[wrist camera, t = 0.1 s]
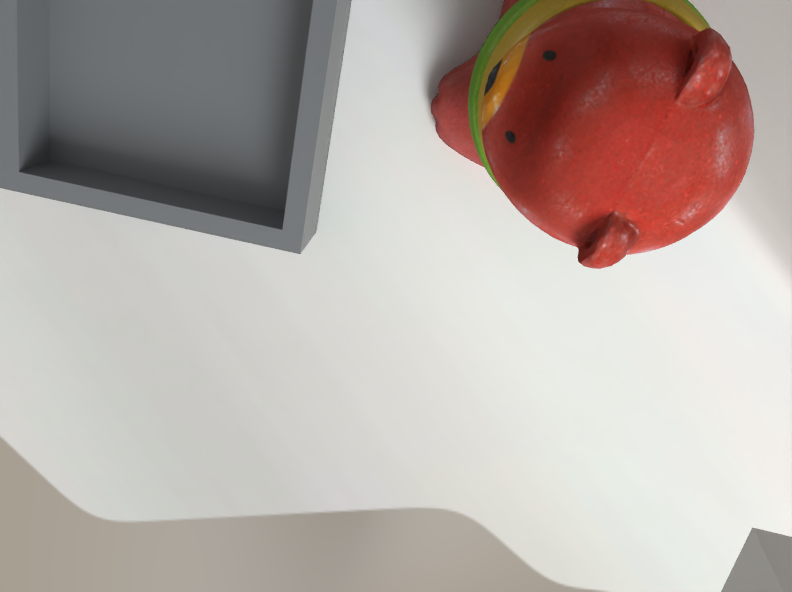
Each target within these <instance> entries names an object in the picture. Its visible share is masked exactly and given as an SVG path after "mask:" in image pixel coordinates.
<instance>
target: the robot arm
mask: <svg viewBox="0 0 792 592" xmlns="http://www.w3.org/2000/svg"><path fill="white" fill-rule="evenodd" d="M721 592H792V537H789V536H785V535H781V534H777V533H773V532H768V531H764V530H760V529H756V528H752V530H751V532H750V534H749V536H748V538H747V540H746V542H745V544H744V546H743V548H742V550H741V552H740V554H739V556H738V558H737V560H736V562H735V564H734V566H733V569H732V571H731V573H730V575H729V577H728V579H727V581H726V583H725V585H724V587H723V589H722V591H721Z"/></svg>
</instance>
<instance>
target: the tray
mask: <svg viewBox="0 0 792 592" xmlns="http://www.w3.org/2000/svg"><path fill="white" fill-rule="evenodd" d="M350 7H351V0H0V188H3V189H8V190H12V191H17V192H21V193H26V194H30V195H35V196H40V197H44V198H49V199H53V200H58V201H62V202H67V203H71V204H76V205H80V206H85V207H89V208H94V209H98V210H103V211H107V212H112V213H116V214H121V215H126V216H130V217H135V218H139V219H144V220H148V221H153V222H157V223H162V224H166V225H171V226H175V227H180V228H184V229H189V230H193V231H198V232H203V233H207V234H212V235H216V236H221V237H225V238H230V239H234V240H239V241H243V242H248V243H252V244H257V245H261V246H266V247H270V248H275V249H280V250H284V251H289V252H293V253H298V254H301V252H302V251H303V249H304V248H305V247H306V245H307V244H308V243H309V241H310V240H311V238H312V237H313V236H314V234H315V233H316V229H317V223H318V216H319V210H320V203H321V197H322V190H323V184H324V177H325V170H326V164H327V157H328V151H329V144H330V138H331V131H332V125H333V118H334V112H335V105H336V98H337V92H338V85H339V79H340V72H341V66H342V59H343V53H344V46H345V40H346V33H347V27H348V20H349V13H350Z"/></svg>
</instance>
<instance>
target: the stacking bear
mask: <svg viewBox="0 0 792 592" xmlns="http://www.w3.org/2000/svg"><path fill="white" fill-rule="evenodd" d="M438 87H439V93H438V95H437V96H436V97H435V98H434V99H433V100H432V103H431V113H432V115H433V116H434V117H435V119H436V132H437V134H438V136H439V137H440V138H441V139H442V140H443V142H445V143H446V144H447V145H448V146H449V147H451V148H452V149H453V150H455V151H456V152H458V153H459V154H461V155H462V156H464V157H466V158H467V159H469V160H471V161H473V162H475V163H477V164H479V165H481V166H483V167H485V168H486V170H487V172H488V173H489V175H490V176H491V178H492V179H493V180H494V182H495V183H496V184H497V185H498V187H499V188H500V189H501V190H502V191H503V192H504V193H505V195H506V196H507V197H508V199H509V200H510V201H511V203H512V204H513V205H514V206H515V207H516V208H517V210H518V211H519V212H520V213H521V214H522V215H524V216H525V217H526V218H527V219H528V220H529V221H530V222H531V223H533V224H534V225H535V226H537V227H538V228H540V229H541V230H542V231H544V232H545V233H547V234H549V235H550V236H552V237H553V238H555V239H558V240H560V241H562V242H565V243H567V244H570V245H573V246H576V247H578V249H579V253H578V262H579V263H581V264H582V265H583V266H586V267H589V268H597V269H600V268H604V267H609V266H612V265H613V264H615V263H617V262H619V261H620V260H621V259H622V258H624V257H625V256H626V255H628V254H636V253H642V252H648V251H652V250H655V249H659V248H662V247H665V246H667V245H670V244H672V243H675V242H677V241H679V240H681V239H683V238H685V237H687V236H688V235H690V234H691V233H693V232H695V231H696V230H698V229H700V228H701V227H702V226H704V225H705V224H707V223H708V222H709V221H710V220H712V219H713V218H714V217H715V216H716V215H717V214H718V213H719V212H720V211H721V210H722V209H723V208H724V207H725V205H726V204H727V203H728V202H729V200H730V199H731V198H732V196H733V195H734V193H735V192H736V190H737V189H738V187H739V185H740V183H741V181H742V179H743V177H744V175H745V172H746V169H747V166H748V163H749V160H750V156H751V153H752V147H753V140H754V119H753V111H752V105H751V100H750V97H749V93H748V89H747V86H746V84H745V82H744V79H743V77H742V75H741V73H740V71H739V70H738V68H737V66H736V65H735V64H734V62H733V61H732V57H731V52H730V47H729V46H728V44H727V43H726V42H725V40H724V39H723V37H722V36H721V35H720V34H719V33H718V32H716V31H715V30H713V29H711V28H710V26H709V25H708V23H707V22H706V20H705V19H704V17H703V16H702V15H701V14H700V13H699V11H698V10H697V9H696V8H695V7H694V6H693V5H692V4H691V3H690V2H689V1H688V0H504V3H503V8H502V13H501V16H500V19H499V21H498V23H497V24H496V25H495V27H494V28H493V29H492V31H491V32H490V34H489V35H488V37H487V39H486V41H485V42H484V44H483V46H482V48H481V50H480V52H479V53H478V54H476V55H475V56H474V57H473V58H471V59H470V60H468V61H467V62H465V63H464V64H462V65H460V66H458V67H456V68H454V69H453V70H451V71H450V72H449V73H448V74H446V75H445V76H444V77H443V78H442V80H441V81H440V83H439V86H438Z"/></svg>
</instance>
